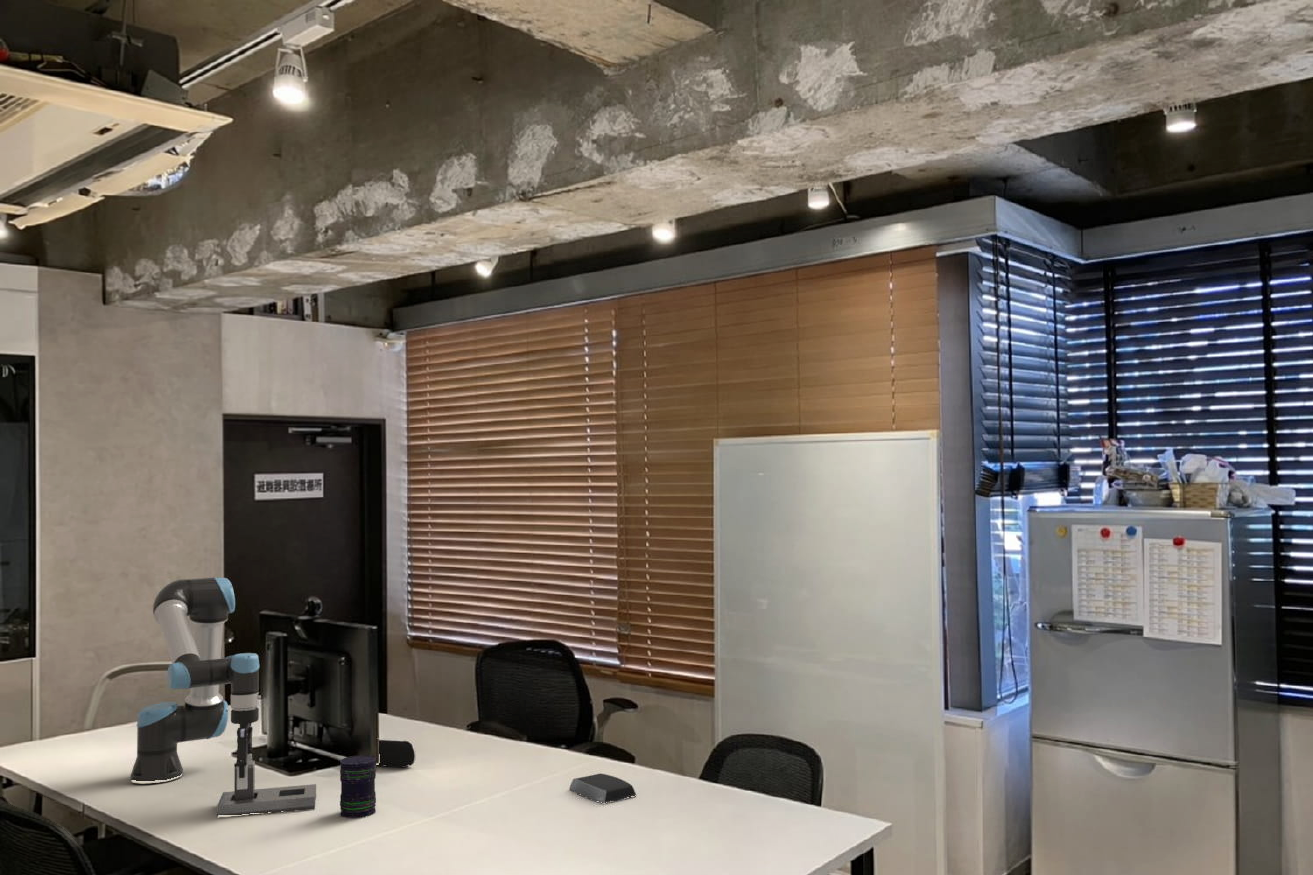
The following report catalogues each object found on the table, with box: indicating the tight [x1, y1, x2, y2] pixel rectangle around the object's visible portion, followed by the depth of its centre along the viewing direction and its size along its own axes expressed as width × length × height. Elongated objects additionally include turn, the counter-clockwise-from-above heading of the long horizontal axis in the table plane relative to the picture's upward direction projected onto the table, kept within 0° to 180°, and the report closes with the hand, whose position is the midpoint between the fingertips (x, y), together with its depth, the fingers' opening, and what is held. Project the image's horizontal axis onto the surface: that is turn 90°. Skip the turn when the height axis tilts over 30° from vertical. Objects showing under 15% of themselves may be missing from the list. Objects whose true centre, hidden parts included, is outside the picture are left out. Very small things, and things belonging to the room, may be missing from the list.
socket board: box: [216, 783, 317, 817], centre depth 303 cm, size 14×26×4 cm, turn 106°
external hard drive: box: [568, 773, 637, 804], centre depth 311 cm, size 13×19×4 cm
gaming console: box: [378, 738, 417, 767], centre depth 346 cm, size 19×9×2 cm
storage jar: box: [339, 754, 377, 819], centre depth 296 cm, size 10×10×15 cm
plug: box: [233, 760, 256, 801], centre depth 301 cm, size 4×5×12 cm
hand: (244, 782), depth 301 cm, fingers open, 13 cm apart
